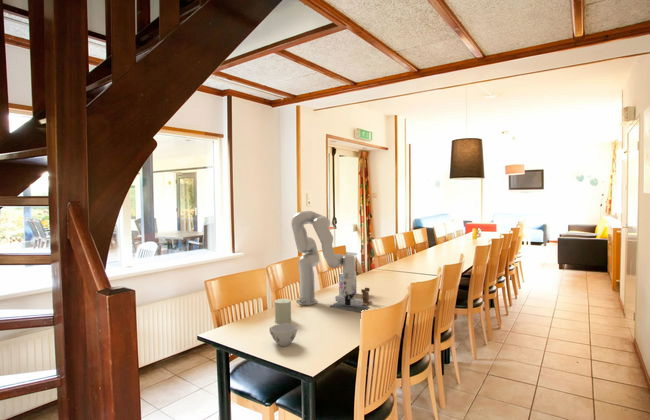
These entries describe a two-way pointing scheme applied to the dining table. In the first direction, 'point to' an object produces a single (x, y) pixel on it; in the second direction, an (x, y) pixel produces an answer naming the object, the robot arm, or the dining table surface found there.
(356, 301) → the steel rail
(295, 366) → the dining table surface
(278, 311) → the can
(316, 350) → the dining table surface
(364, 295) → the cradle rack
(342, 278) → the candy box
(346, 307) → the rubber mat
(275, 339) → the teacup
